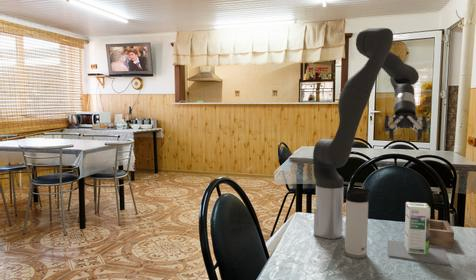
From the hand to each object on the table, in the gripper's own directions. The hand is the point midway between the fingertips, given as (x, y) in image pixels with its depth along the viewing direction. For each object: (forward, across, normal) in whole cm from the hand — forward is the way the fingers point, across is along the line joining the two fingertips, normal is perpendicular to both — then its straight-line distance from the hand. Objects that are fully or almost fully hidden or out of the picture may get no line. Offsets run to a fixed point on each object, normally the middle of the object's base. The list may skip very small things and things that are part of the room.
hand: (405, 139), depth 127 cm
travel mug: (+45, -14, +2) cm, 47 cm away
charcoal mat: (+39, +3, +7) cm, 40 cm away
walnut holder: (+29, +8, +17) cm, 35 cm away
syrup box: (+39, +3, +7) cm, 40 cm away
